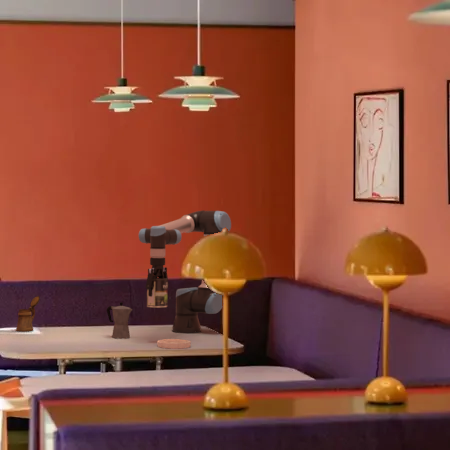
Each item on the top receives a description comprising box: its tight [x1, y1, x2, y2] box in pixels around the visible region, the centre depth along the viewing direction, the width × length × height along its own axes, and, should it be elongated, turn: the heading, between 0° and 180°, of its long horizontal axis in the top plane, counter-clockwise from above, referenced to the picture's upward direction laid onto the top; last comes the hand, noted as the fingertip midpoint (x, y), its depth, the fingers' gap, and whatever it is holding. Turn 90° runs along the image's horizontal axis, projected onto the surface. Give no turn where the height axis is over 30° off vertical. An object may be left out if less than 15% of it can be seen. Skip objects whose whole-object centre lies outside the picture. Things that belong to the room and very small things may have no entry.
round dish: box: [157, 338, 192, 350], centre depth 581 cm, size 16×16×2 cm
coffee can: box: [146, 277, 169, 309], centre depth 595 cm, size 10×10×14 cm
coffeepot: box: [106, 301, 133, 340], centre depth 611 cm, size 15×9×18 cm, turn 61°
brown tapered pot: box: [15, 295, 40, 333], centre depth 634 cm, size 9×14×18 cm, turn 134°
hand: (157, 302), depth 595 cm, fingers closed on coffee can, 10 cm apart
